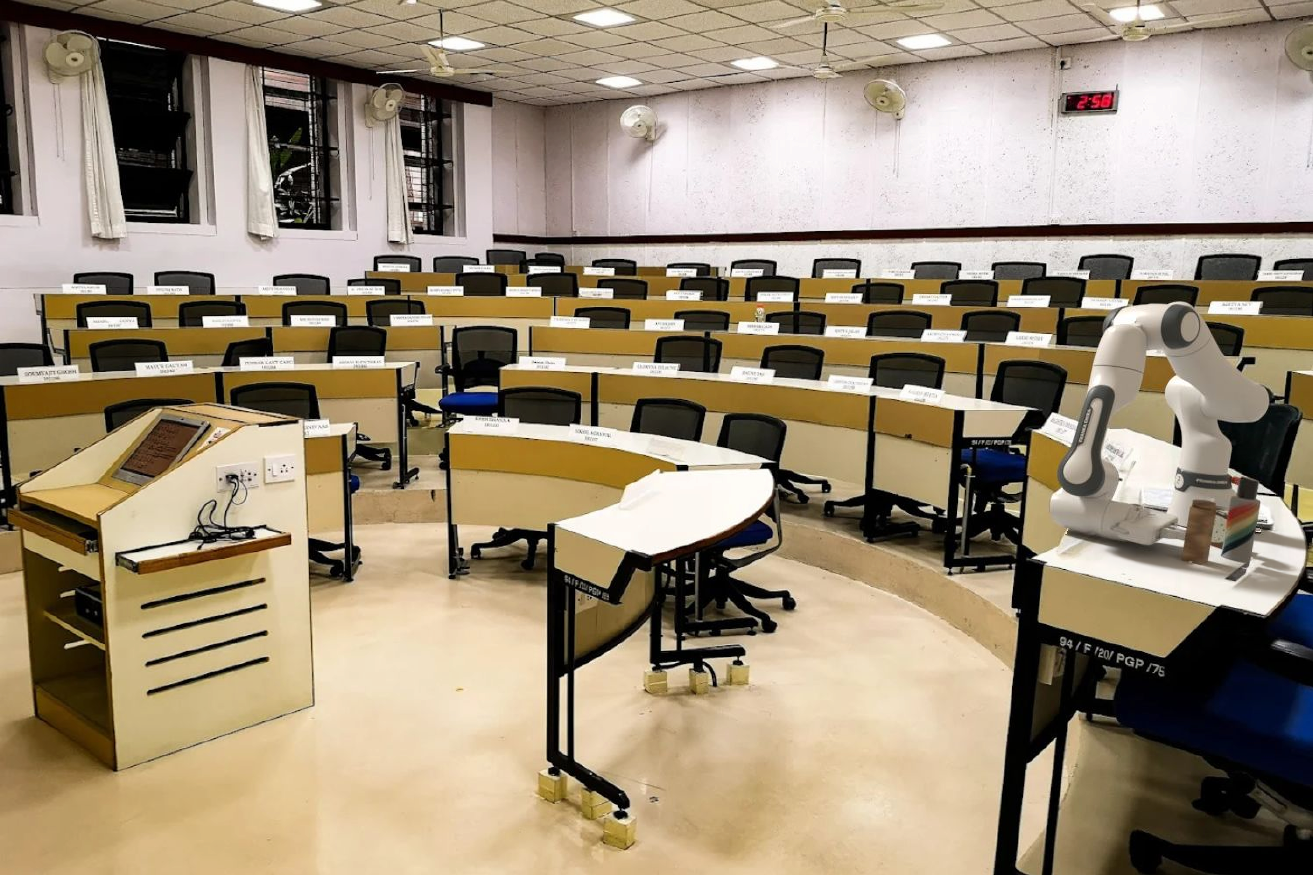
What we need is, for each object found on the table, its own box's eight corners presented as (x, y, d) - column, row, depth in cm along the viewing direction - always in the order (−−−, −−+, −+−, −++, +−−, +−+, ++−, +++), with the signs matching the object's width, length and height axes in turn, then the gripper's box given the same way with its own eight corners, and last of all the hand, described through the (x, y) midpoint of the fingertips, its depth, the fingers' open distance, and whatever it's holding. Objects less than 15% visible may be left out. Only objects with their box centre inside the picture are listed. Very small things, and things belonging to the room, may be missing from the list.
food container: (1251, 557, 218) (1258, 516, 216) (1230, 558, 216) (1237, 516, 214) (1206, 542, 229) (1213, 502, 227) (1186, 543, 227) (1193, 502, 226)
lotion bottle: (1216, 558, 215) (1231, 473, 212) (1244, 562, 214) (1260, 476, 210) (1223, 565, 210) (1238, 478, 206) (1252, 569, 208) (1268, 481, 205)
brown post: (1178, 561, 206) (1187, 502, 204) (1189, 554, 212) (1198, 497, 210) (1200, 566, 203) (1210, 506, 201) (1211, 559, 209) (1220, 501, 207)
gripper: (1108, 515, 210) (1176, 529, 200) (1138, 502, 224) (1203, 515, 215) (1104, 542, 211) (1171, 558, 201) (1134, 528, 225) (1198, 541, 216)
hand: (1188, 535), depth 208 cm, fingers closed
